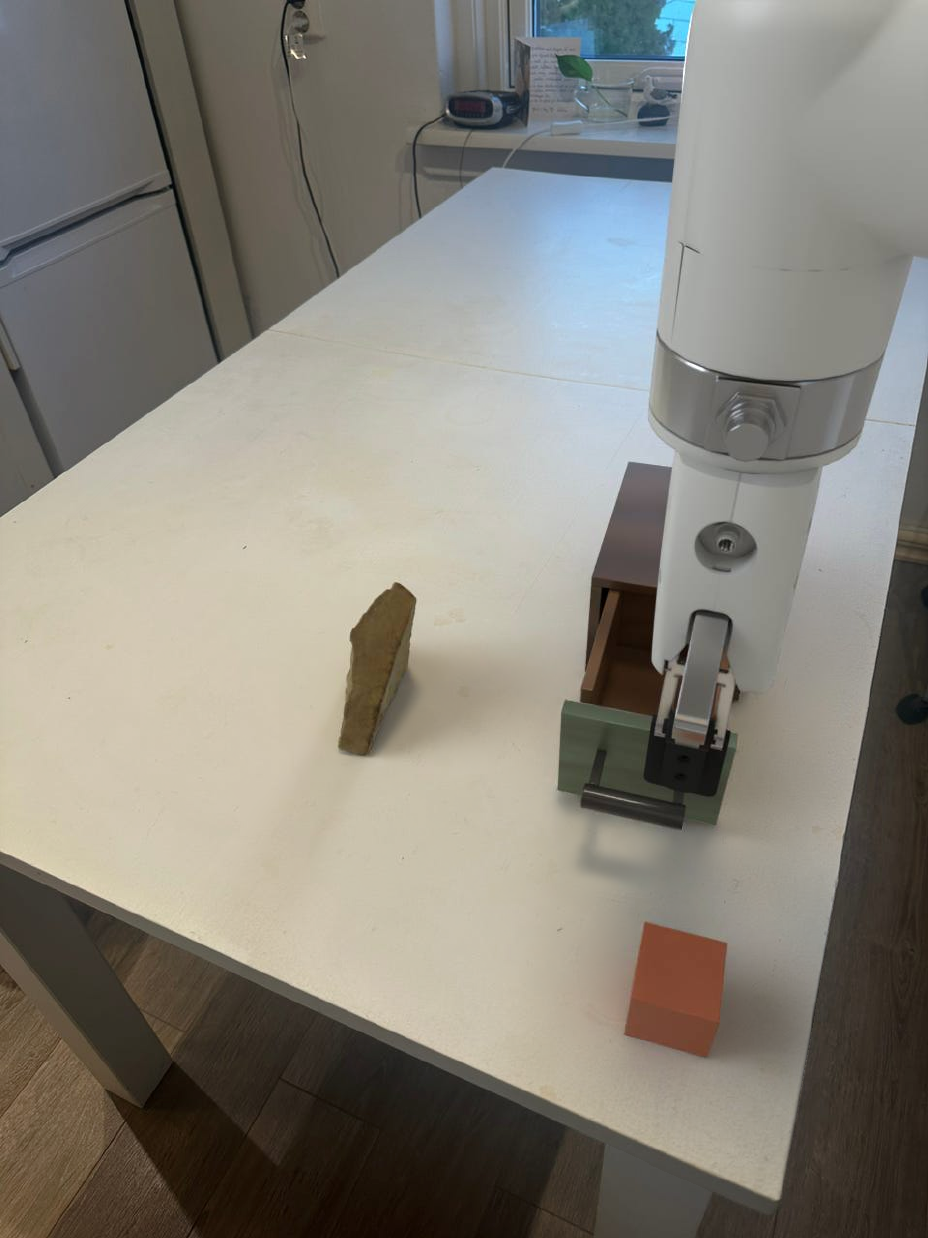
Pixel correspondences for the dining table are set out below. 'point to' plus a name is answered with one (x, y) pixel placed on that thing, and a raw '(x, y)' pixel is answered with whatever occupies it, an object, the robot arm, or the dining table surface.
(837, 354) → the robot arm
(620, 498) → the cabinet
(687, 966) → the block
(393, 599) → the rock
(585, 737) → the drawer
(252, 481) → the dining table surface
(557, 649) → the dining table surface
